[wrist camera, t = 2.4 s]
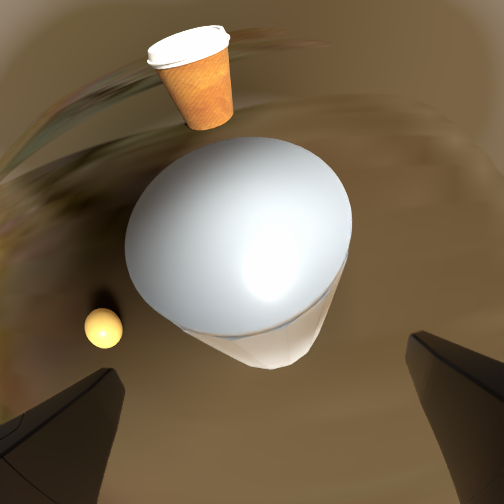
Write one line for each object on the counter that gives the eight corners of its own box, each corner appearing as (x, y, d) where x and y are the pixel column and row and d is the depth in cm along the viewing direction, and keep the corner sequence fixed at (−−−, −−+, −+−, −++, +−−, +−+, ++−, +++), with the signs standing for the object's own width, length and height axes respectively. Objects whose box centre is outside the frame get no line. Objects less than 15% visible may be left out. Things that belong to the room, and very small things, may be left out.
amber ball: (116, 359, 19) (91, 352, 16) (95, 336, 20) (71, 326, 17) (136, 329, 20) (113, 318, 17) (114, 308, 21) (91, 295, 18)
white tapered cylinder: (285, 387, 16) (267, 389, 5) (202, 334, 19) (90, 253, 8) (336, 301, 19) (382, 176, 8) (254, 258, 21) (212, 122, 10)
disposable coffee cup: (199, 148, 29) (164, 57, 19) (164, 124, 33) (133, 53, 23) (261, 111, 31) (245, 26, 21) (218, 93, 35) (199, 24, 25)
